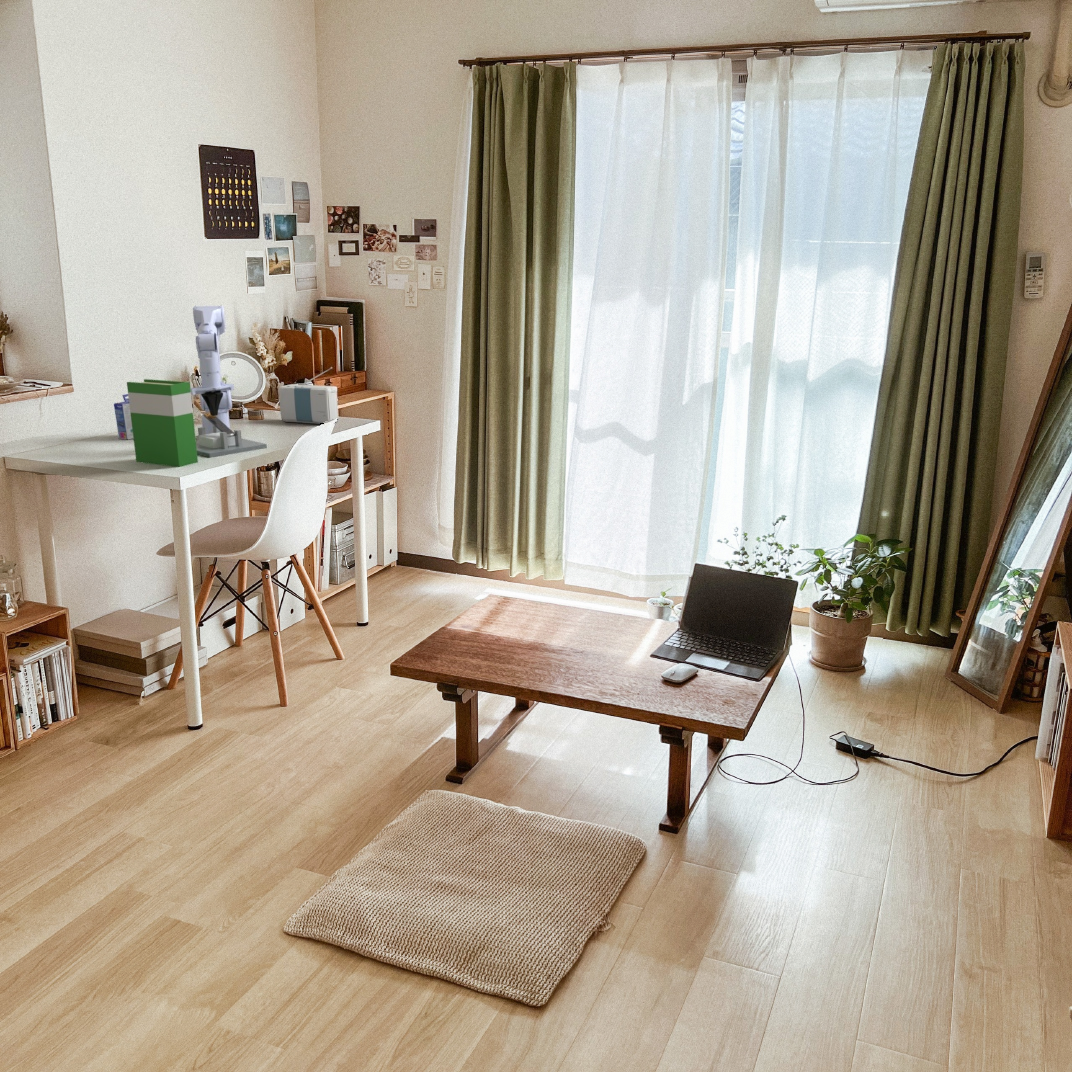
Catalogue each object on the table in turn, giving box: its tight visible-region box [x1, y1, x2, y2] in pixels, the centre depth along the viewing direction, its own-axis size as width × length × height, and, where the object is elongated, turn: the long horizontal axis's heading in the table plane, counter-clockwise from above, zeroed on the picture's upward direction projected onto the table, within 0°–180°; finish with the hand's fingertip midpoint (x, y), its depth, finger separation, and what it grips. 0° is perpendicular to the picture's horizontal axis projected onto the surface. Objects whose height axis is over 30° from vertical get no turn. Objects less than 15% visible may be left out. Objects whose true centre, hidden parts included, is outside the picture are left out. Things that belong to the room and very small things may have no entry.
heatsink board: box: [196, 425, 268, 458], centre depth 330 cm, size 22×20×6 cm
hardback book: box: [126, 378, 199, 468], centre depth 307 cm, size 18×7×24 cm, turn 63°
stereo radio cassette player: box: [278, 366, 339, 425], centre depth 372 cm, size 21×8×20 cm, turn 67°
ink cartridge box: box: [113, 393, 134, 440], centre depth 349 cm, size 10×6×14 cm, turn 146°
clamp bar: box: [202, 412, 236, 437], centre depth 328 cm, size 14×3×1 cm, turn 47°
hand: (214, 415), depth 329 cm, fingers closed
